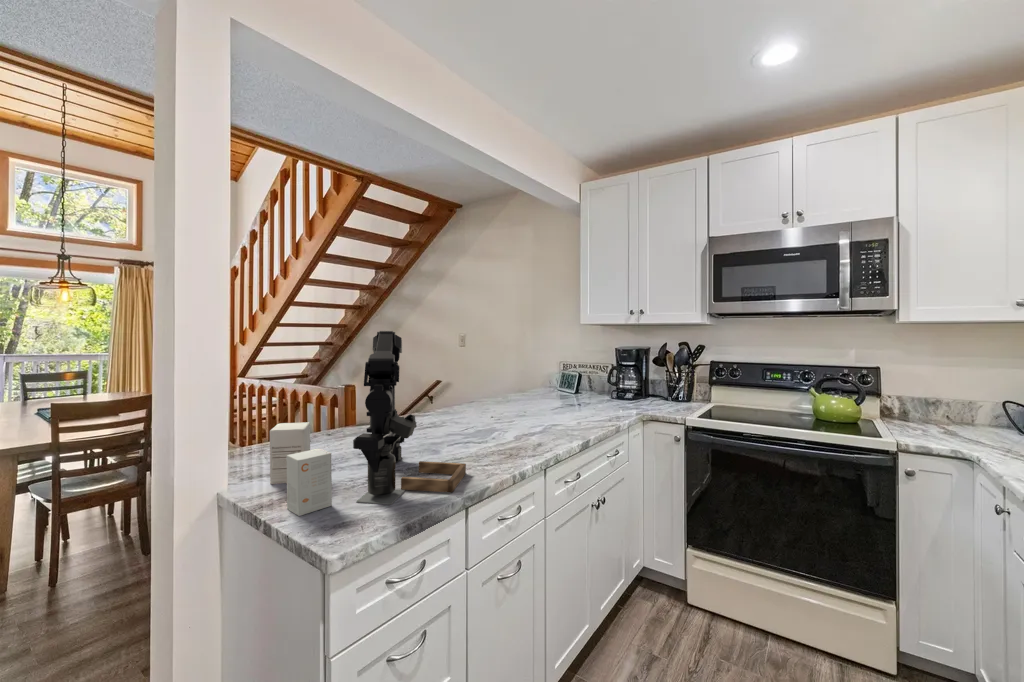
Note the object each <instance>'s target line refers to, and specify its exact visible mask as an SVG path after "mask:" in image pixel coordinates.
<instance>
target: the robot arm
mask: <svg viewBox="0 0 1024 682" xmlns="http://www.w3.org/2000/svg"><path fill="white" fill-rule="evenodd" d="M372 351H373V353H371V354H370V355H369V357H368V360H367V361H365V363H364V364H365V365H364V376H363V378H364V379H363V387H370V388H369V393H368V395H367V396H366V397H365V401H364V404H365V407H366V410H367V411H366V417H369V427H367V428H366V433H362V434H359V435H357V436H356V437H355V438H354V439H353V440H352V441H353V442H352V445H353V446H352V448H353V449H354V450H360V451H361V453H362V454H363V456H364V457H365V459H366V461H367V464H368V463H369V465H370V467H371V469H372V471H373V472H376V473H377V472H378V469H379V462H380V454H381V451H382V450H383V449H384V448H385V447H386V446H385V445H383V444H384V442H385V443H391V449H392V451H391V453H392V454H393V455H394V456H395V465H397V463H398V462H400V461H401V460H402V459H403V457H402V446H401V444H403V443H405V439H409V438H410V437H412V436H413V434H414V431H415V429H416V428H417V427H418V425H417V423H418V422H417V421H416V416H415V415H413V414H411V413H410V414H408V415H407V416H400V415H399V414H398V410H397V409H396V386H397V383H400V368H401V367H400V365H399V363H398V362H399V360H400V356H401V354H402V353H403V340H402V337H400V335H397V334H396V332H395V331H393V330H379V331H377V333H376V335H375V336H373V337H372Z"/></svg>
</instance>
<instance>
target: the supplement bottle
mask: <svg viewBox="0 0 1024 682" xmlns="http://www.w3.org/2000/svg"><path fill="white" fill-rule="evenodd" d="M383 445H385V446H386V447H385V448H384V449H383V450H382V451H381V454H380V462H379V469H378V472H377V473H376V472H373V471H372V469H371V467H370V465H369V463H368V462H367V492H368V493H369V494H371V495H377V496H380V495H387V494H390V493H392V492H394V490H395V489H396V464H395V456H394V455H393V454H392V453H391V451H392V449H391V443H385V442H384V444H383Z"/></svg>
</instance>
